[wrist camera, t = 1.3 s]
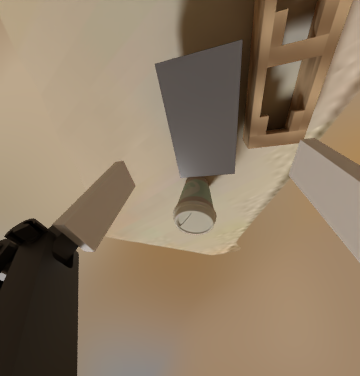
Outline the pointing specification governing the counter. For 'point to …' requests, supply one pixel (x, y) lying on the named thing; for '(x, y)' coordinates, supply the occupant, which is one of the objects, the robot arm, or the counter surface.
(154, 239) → the counter surface
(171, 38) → the counter surface
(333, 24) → the brown long open box
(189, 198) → the coffee cup
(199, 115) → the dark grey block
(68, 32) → the counter surface
